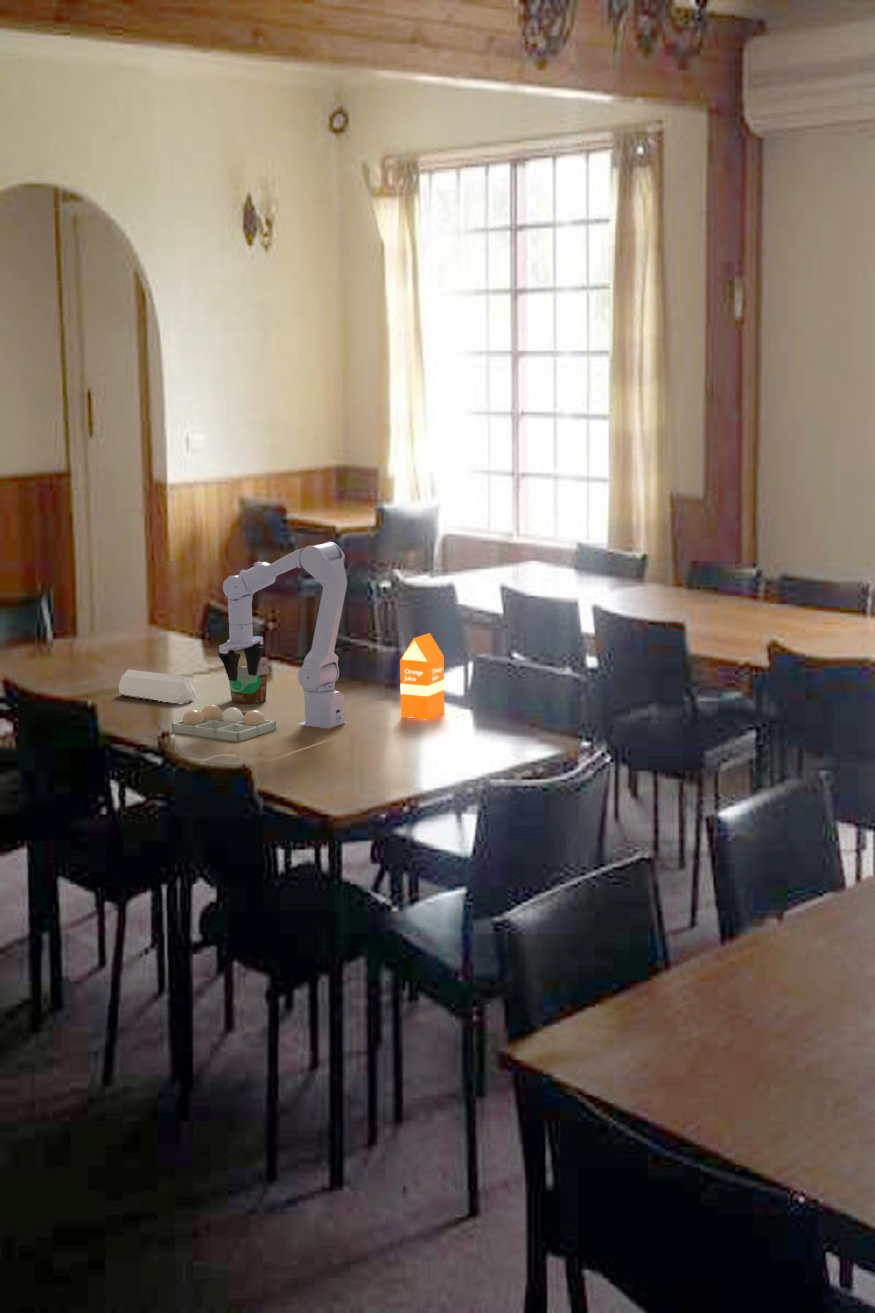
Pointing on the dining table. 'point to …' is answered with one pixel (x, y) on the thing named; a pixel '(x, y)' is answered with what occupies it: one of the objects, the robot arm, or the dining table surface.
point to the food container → (249, 686)
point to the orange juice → (422, 679)
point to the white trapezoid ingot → (157, 686)
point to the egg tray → (224, 729)
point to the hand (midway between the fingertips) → (242, 677)
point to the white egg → (232, 715)
